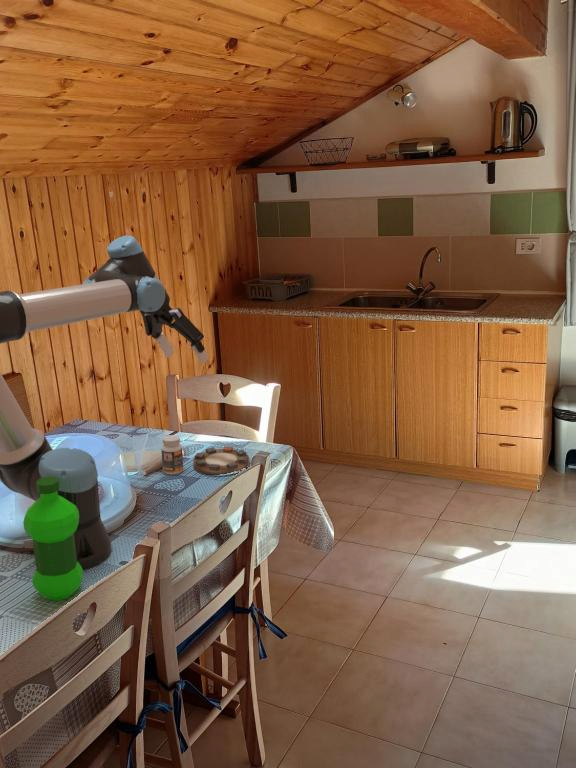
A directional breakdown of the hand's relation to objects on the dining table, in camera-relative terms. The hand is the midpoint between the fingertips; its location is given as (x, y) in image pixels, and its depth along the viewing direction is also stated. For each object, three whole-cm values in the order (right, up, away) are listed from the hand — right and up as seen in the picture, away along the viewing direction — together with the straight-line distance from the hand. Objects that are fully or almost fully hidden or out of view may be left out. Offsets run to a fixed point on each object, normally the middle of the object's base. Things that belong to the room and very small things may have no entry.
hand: (187, 357), depth 200 cm
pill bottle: (-6, -32, +11) cm, 34 cm away
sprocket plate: (+8, -30, +15) cm, 35 cm away
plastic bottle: (-20, -50, -46) cm, 71 cm away
